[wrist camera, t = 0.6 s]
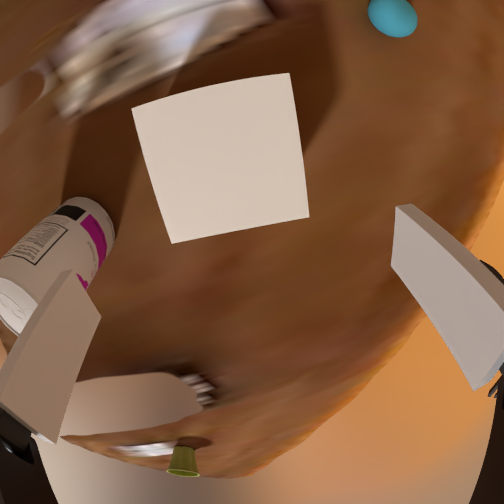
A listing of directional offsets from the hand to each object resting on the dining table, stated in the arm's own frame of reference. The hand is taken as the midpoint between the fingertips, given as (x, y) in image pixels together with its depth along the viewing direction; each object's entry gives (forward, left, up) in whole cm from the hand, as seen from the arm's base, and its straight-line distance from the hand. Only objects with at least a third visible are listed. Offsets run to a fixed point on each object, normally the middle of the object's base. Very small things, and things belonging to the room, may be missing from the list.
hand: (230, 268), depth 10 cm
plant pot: (+72, -31, -18) cm, 81 cm away
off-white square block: (-2, 0, -18) cm, 18 cm away
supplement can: (+3, -18, -18) cm, 26 cm away
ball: (-14, +18, -16) cm, 28 cm away
